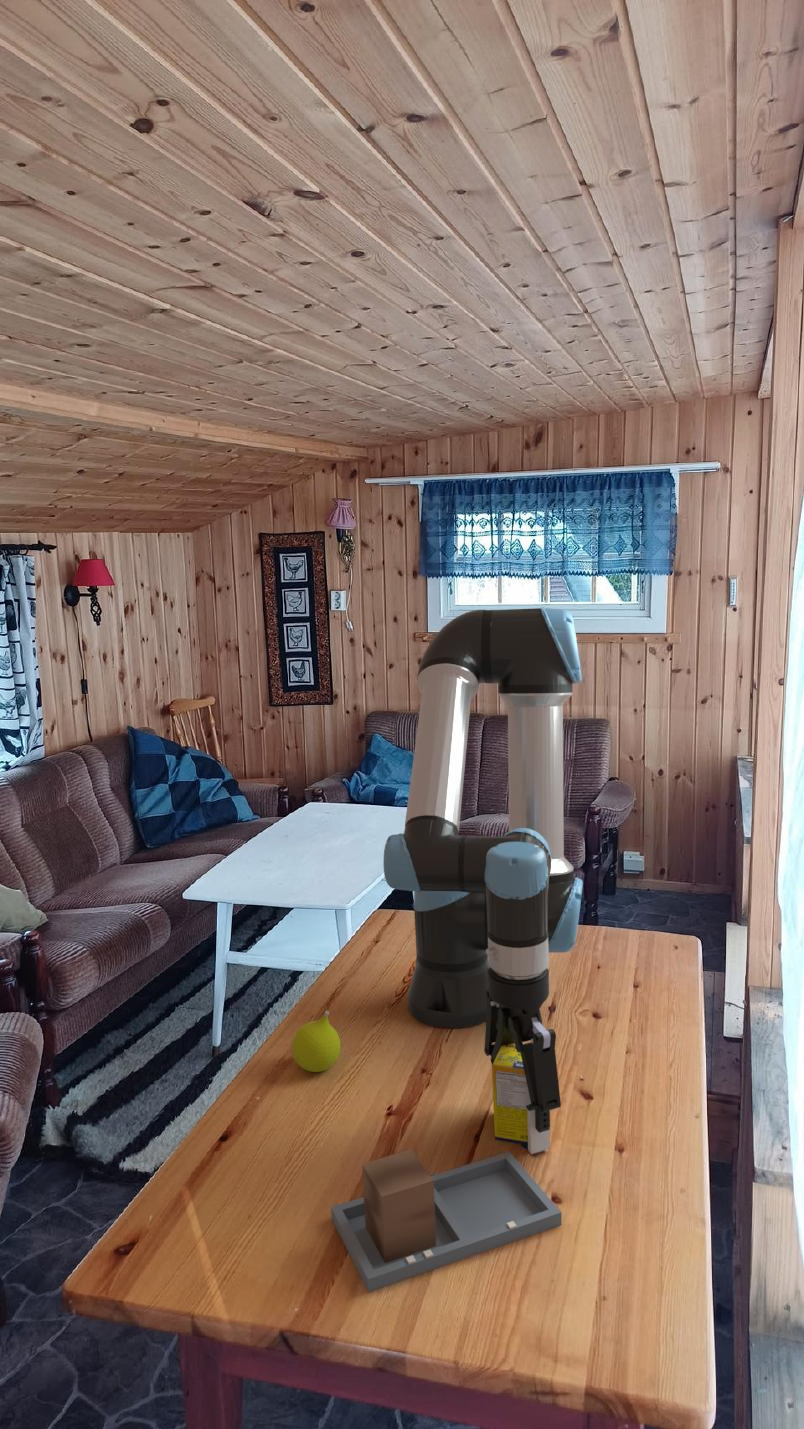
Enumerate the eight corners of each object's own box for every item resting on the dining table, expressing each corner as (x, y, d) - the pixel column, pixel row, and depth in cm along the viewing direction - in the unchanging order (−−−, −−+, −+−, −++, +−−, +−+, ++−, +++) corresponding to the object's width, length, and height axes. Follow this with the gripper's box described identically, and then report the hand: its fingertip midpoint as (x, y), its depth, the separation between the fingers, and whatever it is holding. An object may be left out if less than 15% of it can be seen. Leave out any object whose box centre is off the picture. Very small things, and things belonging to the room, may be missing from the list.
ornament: (351, 1069, 144) (347, 1006, 142) (311, 1087, 139) (306, 1022, 137) (323, 1050, 149) (320, 989, 147) (284, 1067, 145) (279, 1005, 143)
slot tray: (332, 1223, 112) (330, 1205, 111) (509, 1166, 120) (509, 1149, 120) (369, 1296, 101) (368, 1277, 101) (561, 1228, 109) (561, 1210, 109)
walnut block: (365, 1227, 110) (362, 1163, 109) (414, 1211, 112) (411, 1148, 111) (385, 1263, 105) (381, 1196, 103) (436, 1245, 107) (433, 1180, 105)
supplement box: (548, 1122, 129) (547, 1046, 126) (540, 1150, 123) (538, 1071, 121) (504, 1115, 131) (502, 1040, 128) (493, 1142, 125) (491, 1064, 123)
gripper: (454, 941, 130) (460, 1095, 135) (534, 1010, 111) (537, 1187, 116) (504, 930, 133) (508, 1081, 138) (590, 996, 114) (591, 1169, 119)
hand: (521, 1129), depth 127 cm, fingers closed on supplement box, 8 cm apart
